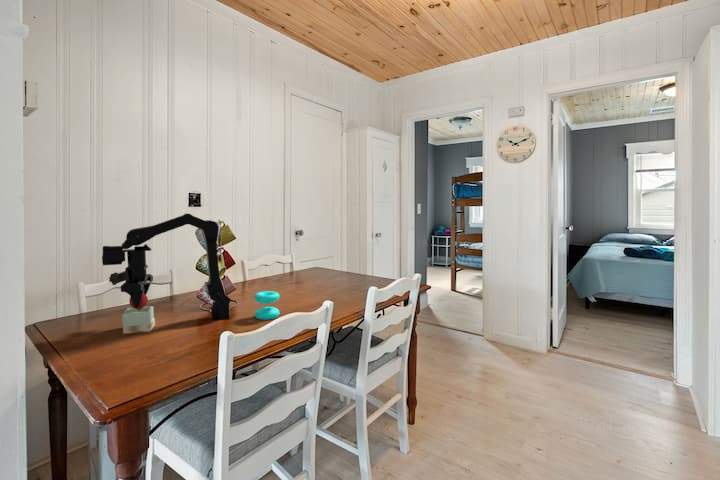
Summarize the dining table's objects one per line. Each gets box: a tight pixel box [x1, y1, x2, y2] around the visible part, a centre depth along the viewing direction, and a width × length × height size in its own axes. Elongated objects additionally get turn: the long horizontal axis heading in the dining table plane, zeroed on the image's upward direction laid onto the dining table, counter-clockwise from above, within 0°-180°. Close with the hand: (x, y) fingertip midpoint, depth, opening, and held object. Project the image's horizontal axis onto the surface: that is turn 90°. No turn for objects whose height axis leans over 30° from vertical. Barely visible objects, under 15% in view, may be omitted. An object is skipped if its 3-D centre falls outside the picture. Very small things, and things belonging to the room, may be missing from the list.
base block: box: [122, 317, 156, 334], centre depth 138 cm, size 8×8×3 cm
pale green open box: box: [121, 305, 155, 328], centre depth 137 cm, size 8×8×4 cm
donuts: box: [254, 290, 280, 321], centre depth 154 cm, size 10×10×10 cm
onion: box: [128, 293, 149, 310], centre depth 137 cm, size 6×6×8 cm
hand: (139, 305), depth 137 cm, fingers open, 6 cm apart
